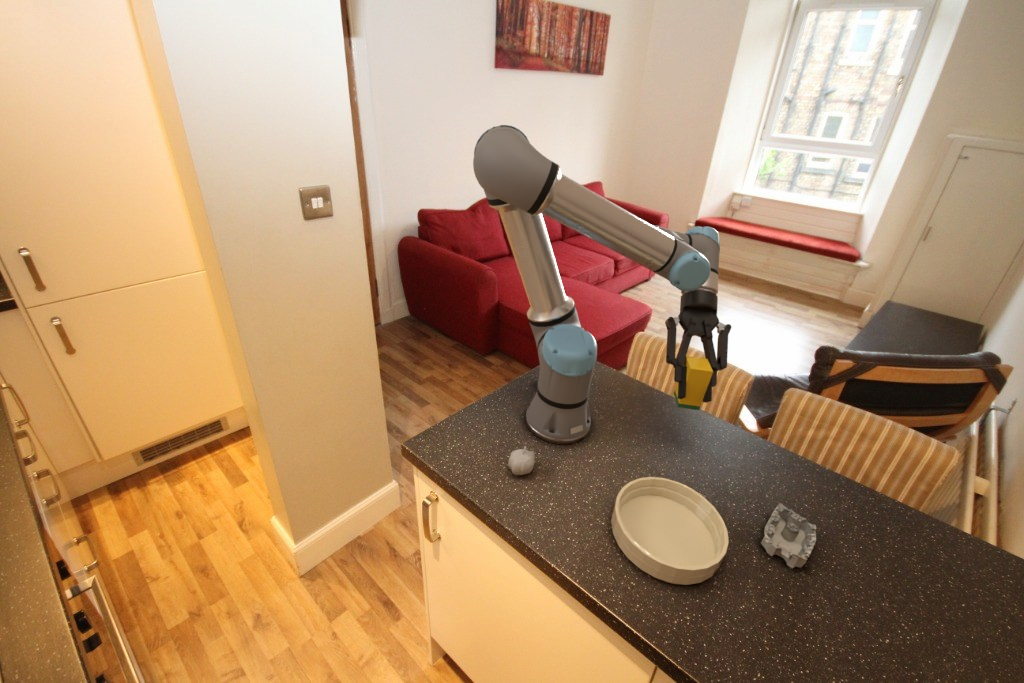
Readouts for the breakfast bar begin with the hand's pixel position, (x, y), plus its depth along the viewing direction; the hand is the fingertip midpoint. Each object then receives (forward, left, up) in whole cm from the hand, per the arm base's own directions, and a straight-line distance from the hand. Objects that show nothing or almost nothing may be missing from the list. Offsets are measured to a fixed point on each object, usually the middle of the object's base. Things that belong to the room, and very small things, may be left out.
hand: (694, 399), depth 92 cm
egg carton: (+25, +2, -15) cm, 30 cm away
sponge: (-3, +2, -3) cm, 5 cm away
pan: (+15, -18, -15) cm, 28 cm away
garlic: (-9, -35, -15) cm, 39 cm away
